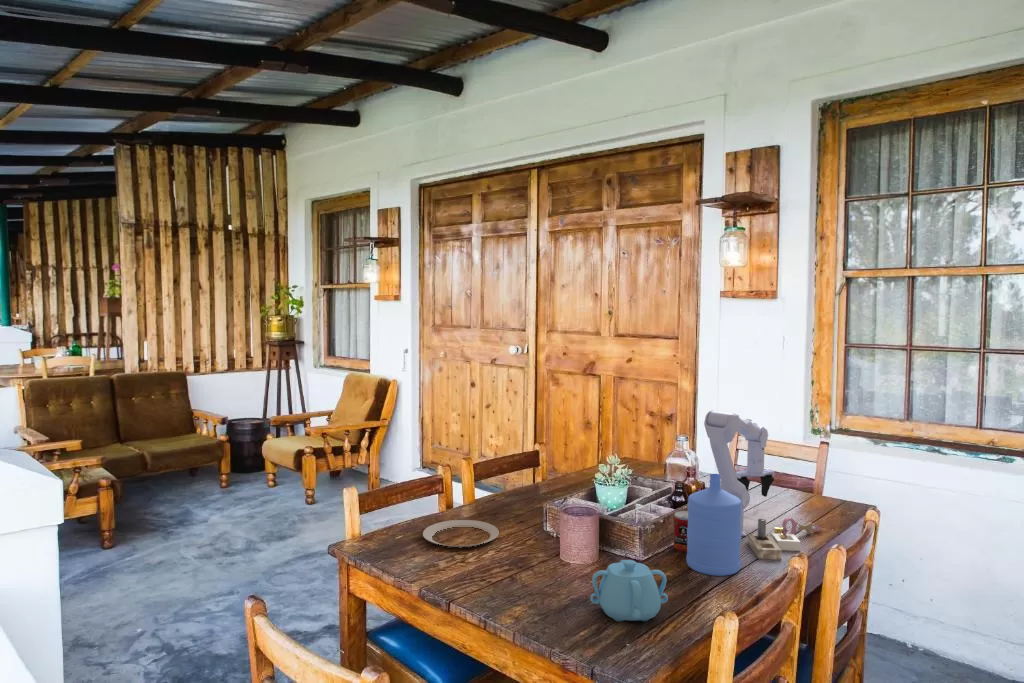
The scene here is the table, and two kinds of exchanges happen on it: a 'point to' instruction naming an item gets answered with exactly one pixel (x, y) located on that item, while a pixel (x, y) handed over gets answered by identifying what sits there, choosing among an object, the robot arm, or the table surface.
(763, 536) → the drill bit
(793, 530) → the decorative key
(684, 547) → the canned food
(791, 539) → the socket block
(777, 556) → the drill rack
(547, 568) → the table surface
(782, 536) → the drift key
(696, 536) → the water jug
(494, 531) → the plate
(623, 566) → the decorative pot
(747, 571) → the table surface
